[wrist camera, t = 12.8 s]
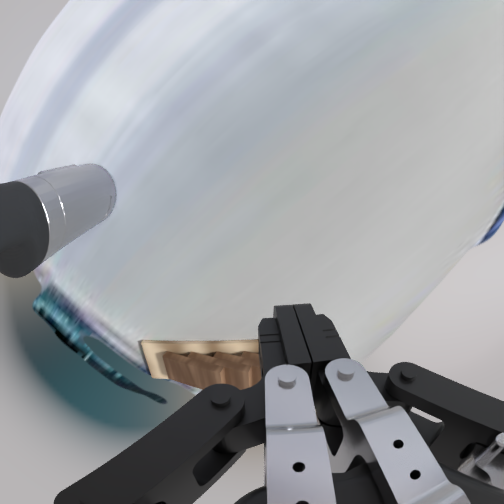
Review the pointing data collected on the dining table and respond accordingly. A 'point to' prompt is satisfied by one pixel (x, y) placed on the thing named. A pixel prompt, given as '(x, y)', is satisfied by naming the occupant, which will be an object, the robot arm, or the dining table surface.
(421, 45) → the dining table surface
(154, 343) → the domino board
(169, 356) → the domino
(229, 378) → the domino
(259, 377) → the domino
